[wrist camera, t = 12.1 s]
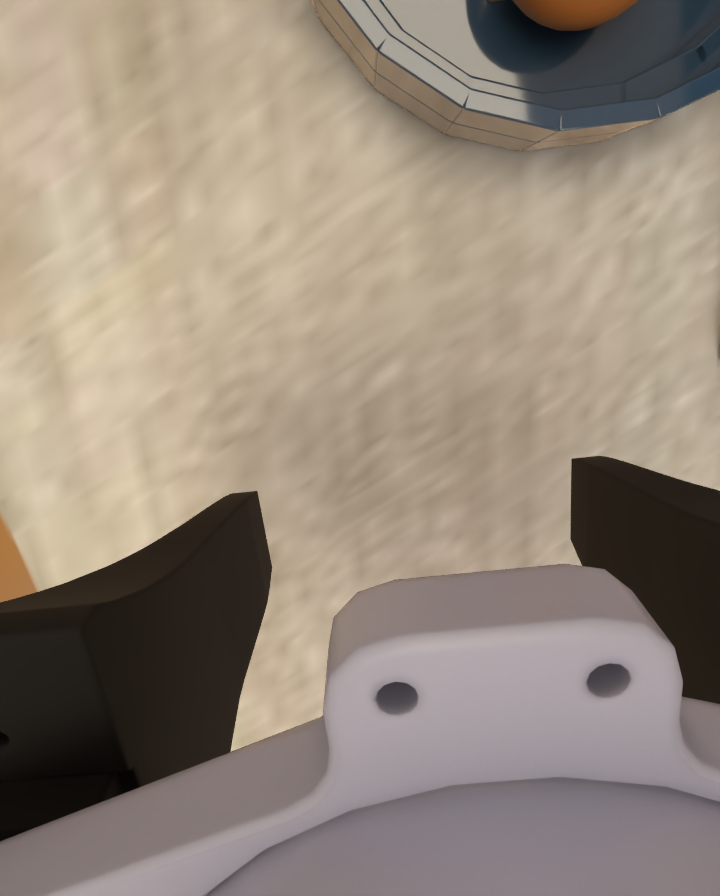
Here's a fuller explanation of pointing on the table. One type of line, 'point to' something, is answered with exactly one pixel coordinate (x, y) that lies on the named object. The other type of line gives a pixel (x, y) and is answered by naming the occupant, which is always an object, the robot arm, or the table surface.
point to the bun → (572, 12)
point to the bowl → (530, 66)
